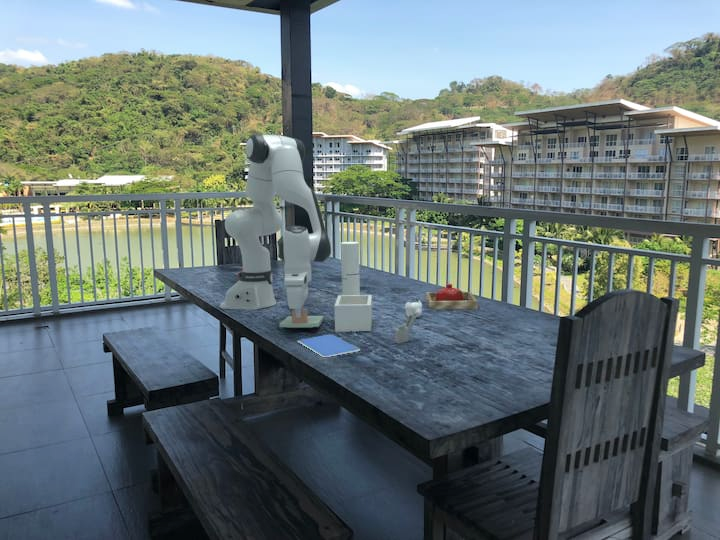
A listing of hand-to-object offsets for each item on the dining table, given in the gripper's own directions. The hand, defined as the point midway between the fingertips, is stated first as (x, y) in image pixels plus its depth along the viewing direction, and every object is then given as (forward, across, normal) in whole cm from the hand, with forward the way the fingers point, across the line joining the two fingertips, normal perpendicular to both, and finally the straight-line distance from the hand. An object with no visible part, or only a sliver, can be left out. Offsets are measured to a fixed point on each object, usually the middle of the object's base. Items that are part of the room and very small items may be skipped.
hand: (299, 316), depth 184 cm
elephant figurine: (+5, -17, +39) cm, 43 cm away
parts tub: (+5, -6, +18) cm, 20 cm away
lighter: (+5, +13, +35) cm, 38 cm away
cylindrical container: (+5, -39, +15) cm, 42 cm away
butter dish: (+6, -38, +54) cm, 66 cm away
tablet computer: (+6, +18, +11) cm, 22 cm away
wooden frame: (+5, -37, +55) cm, 67 cm away
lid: (+4, -6, 0) cm, 7 cm away
